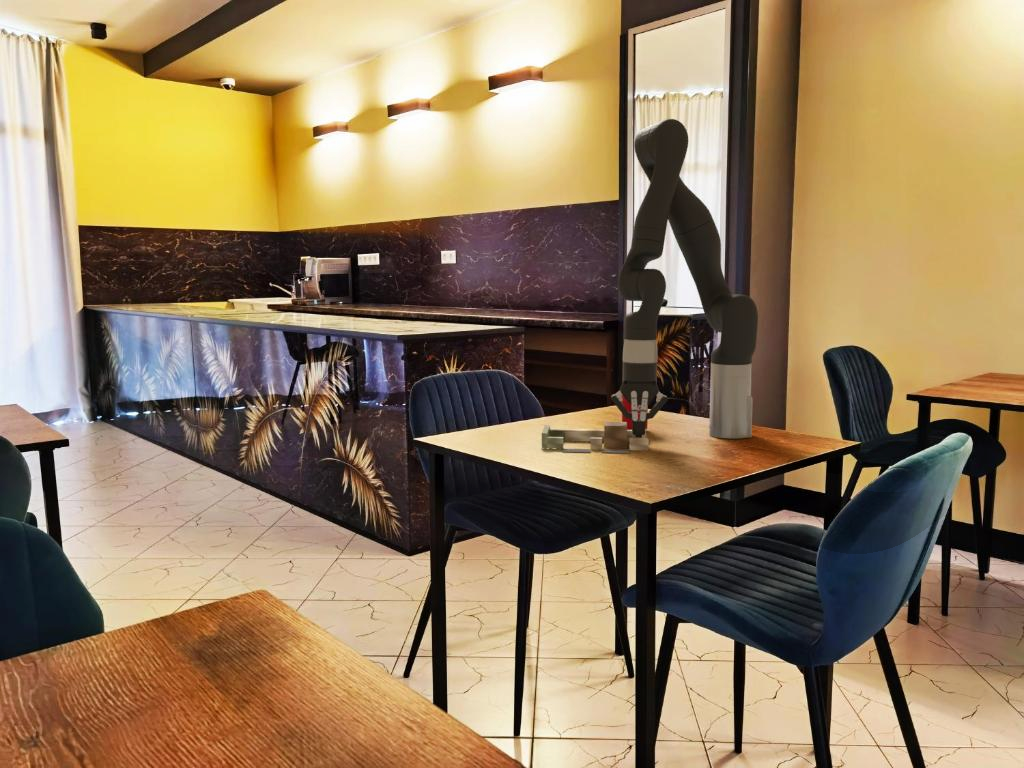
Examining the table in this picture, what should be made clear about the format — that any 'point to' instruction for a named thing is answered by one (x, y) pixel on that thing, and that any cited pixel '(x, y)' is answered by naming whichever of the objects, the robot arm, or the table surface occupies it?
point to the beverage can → (629, 408)
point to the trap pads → (602, 450)
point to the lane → (586, 438)
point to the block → (615, 434)
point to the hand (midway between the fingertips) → (638, 436)
